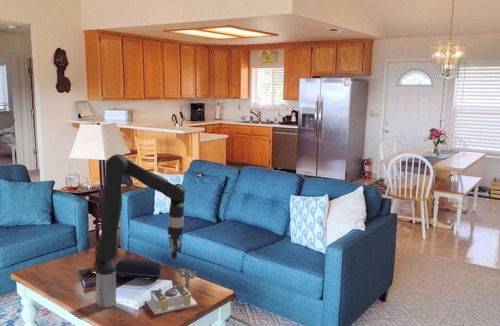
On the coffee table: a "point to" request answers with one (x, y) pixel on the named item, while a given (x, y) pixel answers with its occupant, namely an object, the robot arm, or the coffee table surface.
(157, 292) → the strap near
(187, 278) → the mechanical component
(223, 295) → the coffee table surface
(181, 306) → the base
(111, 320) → the coffee table surface
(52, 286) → the coffee table surface
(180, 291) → the strap far
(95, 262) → the cup and saucer
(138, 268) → the portable speaker
